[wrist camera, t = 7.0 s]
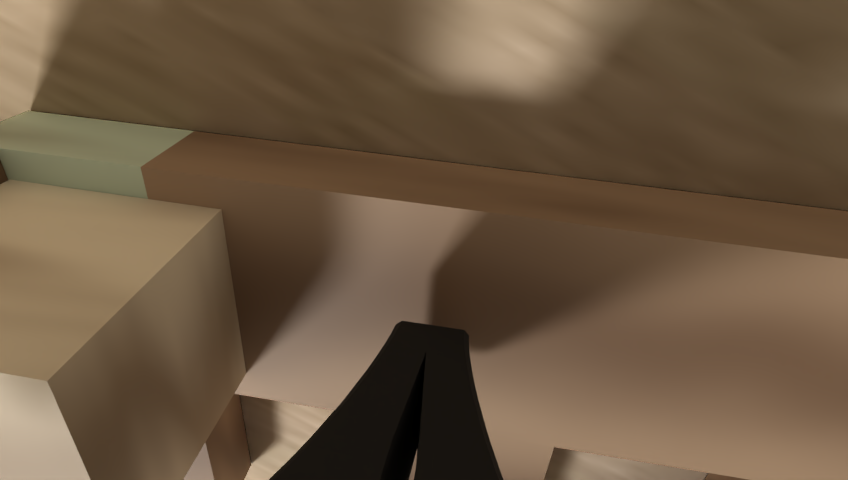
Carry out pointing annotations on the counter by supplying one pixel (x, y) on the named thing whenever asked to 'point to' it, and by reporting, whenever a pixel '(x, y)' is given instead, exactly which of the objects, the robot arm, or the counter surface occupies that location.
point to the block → (111, 334)
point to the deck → (506, 294)
